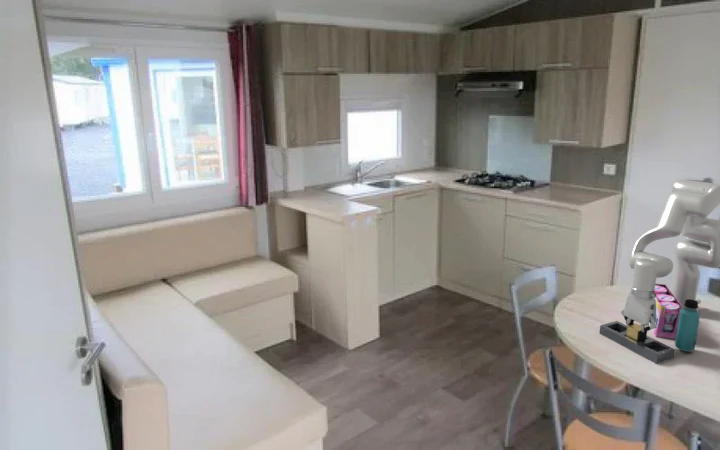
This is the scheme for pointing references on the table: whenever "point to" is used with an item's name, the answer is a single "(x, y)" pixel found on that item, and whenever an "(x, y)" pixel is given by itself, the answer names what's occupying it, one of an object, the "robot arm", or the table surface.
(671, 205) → the robot arm
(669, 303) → the gum box
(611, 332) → the frame with square openings
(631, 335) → the tan wooden cube
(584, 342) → the table surface
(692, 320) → the beverage bottle
